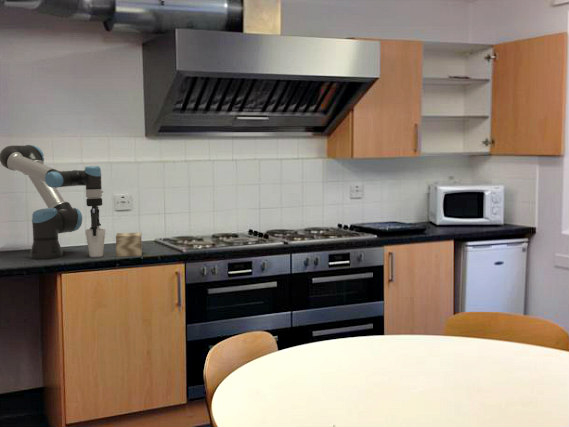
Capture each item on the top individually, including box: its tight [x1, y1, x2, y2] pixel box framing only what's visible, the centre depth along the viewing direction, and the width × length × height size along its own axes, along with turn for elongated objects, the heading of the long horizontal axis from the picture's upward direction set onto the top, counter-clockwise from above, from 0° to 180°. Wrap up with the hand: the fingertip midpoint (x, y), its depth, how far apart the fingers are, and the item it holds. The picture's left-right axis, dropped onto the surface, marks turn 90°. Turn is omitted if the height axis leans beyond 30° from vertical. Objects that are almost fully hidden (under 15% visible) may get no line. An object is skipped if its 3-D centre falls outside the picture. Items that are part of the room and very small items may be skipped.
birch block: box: [115, 232, 143, 258], centre depth 363 cm, size 12×12×10 cm
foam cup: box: [84, 228, 106, 258], centre depth 359 cm, size 10×9×13 cm
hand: (96, 240), depth 359 cm, fingers open, 13 cm apart
